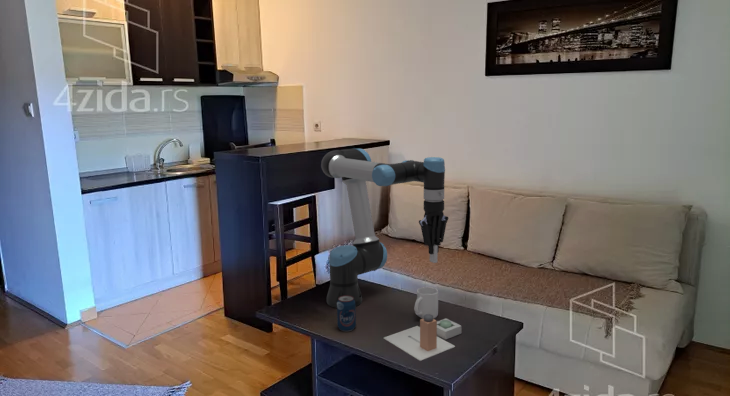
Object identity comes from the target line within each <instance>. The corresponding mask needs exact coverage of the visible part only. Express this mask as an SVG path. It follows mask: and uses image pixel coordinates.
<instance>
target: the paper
mask: <svg viewBox="0 0 730 396" xmlns="http://www.w3.org/2000/svg"><path fill="white" fill-rule="evenodd" d="M383 339H384V340H385V341H387V342H389V343H390V344H391V345H393V346H395V347H397V348H398V349H400V350H402V352H405V353H406V354H407V355H409V356H411V357H413V358H414V359H416V360H418V361H419V362H421V361H424V360H427V359H429V358H432V357H434V356H437V355H438V354H441V353H444V352H446V351H449V350H451V349H454V348H455V347H456V346H455V345H454V344H452V343H450V342H448V341H446V340H445V339H443V338H441V337H439V336H437V348H435V349H432V350H430V351H426V350H425V349H423V348H421V347H420V325H419V326H418V325H416V326H413V327H410V328H407V329H404V330H401V331H399V332H396V333H393V334H390V335H388V336H384V337H383Z"/></svg>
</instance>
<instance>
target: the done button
mask: <svg viewBox="0 0 730 396" xmlns="http://www.w3.org/2000/svg"><path fill="white" fill-rule="evenodd" d="M441 320H442V321H440V320H439V321H440V326H441V327H443V328H445V329H447V328H450V327H451V321H452V320H450V319H448V320H443V319H441ZM449 320H450V321H449Z"/></svg>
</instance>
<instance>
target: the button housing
mask: <svg viewBox="0 0 730 396" xmlns="http://www.w3.org/2000/svg"><path fill="white" fill-rule="evenodd" d="M442 320H449V321H451V327H450V328H447V329H445V328H443V327H441V326H440V321H442ZM436 321H437V337H439V338H441V339H443V340H445V341H446V340H448V339H451V338H453V337H457V336H458V335H461V334H462V325H460V324H459V323H457V322H455V321H453V320H450V319H449V318H443V319H440V320H436Z"/></svg>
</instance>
